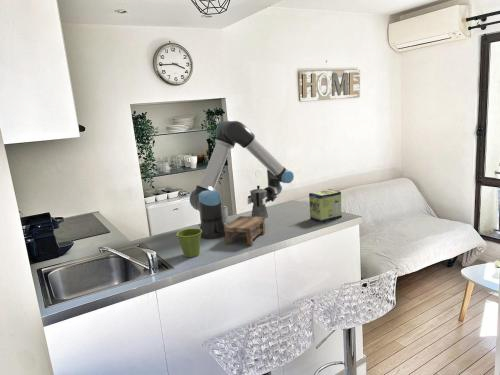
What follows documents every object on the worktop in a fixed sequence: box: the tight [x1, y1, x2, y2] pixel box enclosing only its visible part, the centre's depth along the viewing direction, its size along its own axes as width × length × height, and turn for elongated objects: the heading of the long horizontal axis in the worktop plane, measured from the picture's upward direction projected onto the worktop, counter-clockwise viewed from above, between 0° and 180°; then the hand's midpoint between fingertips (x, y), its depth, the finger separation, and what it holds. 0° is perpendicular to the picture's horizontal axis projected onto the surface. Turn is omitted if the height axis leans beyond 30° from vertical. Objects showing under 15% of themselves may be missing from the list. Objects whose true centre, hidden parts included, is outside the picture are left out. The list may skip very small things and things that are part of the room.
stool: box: [224, 215, 266, 247], centre depth 195 cm, size 14×20×9 cm
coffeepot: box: [249, 185, 268, 219], centre depth 211 cm, size 15×9×18 cm, turn 175°
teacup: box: [222, 205, 229, 222], centre depth 233 cm, size 14×11×8 cm
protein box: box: [308, 188, 343, 223], centre depth 219 cm, size 10×16×16 cm
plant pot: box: [175, 227, 202, 258], centre depth 177 cm, size 12×12×11 cm
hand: (255, 202), depth 207 cm, fingers closed on coffeepot, 8 cm apart
